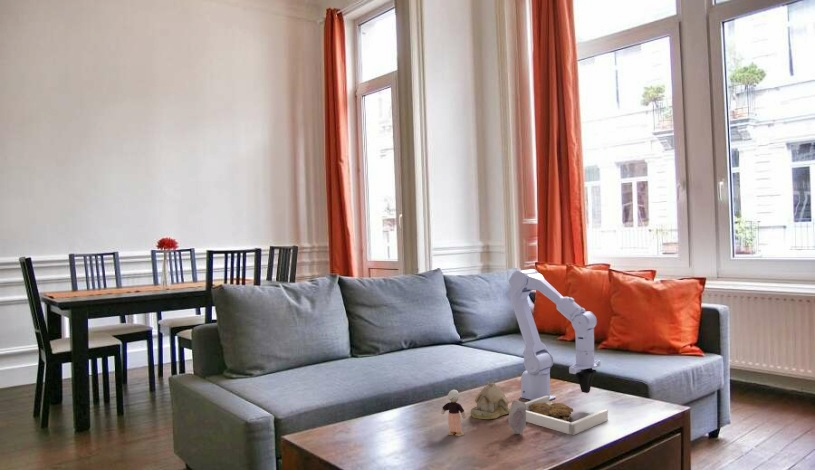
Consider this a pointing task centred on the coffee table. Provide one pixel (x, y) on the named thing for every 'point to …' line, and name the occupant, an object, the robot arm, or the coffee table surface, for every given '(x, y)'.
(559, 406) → the decorative rock
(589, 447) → the coffee table surface
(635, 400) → the coffee table surface
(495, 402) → the ceramic model
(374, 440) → the coffee table surface
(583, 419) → the box
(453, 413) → the grandmother figurine
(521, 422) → the fossil
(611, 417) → the coffee table surface
